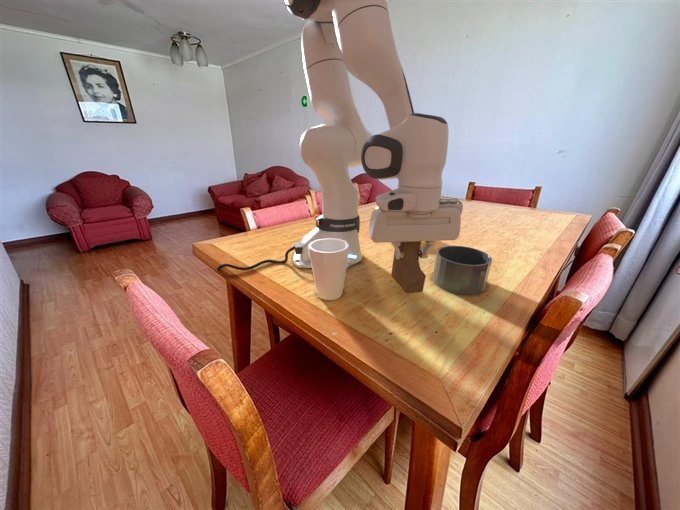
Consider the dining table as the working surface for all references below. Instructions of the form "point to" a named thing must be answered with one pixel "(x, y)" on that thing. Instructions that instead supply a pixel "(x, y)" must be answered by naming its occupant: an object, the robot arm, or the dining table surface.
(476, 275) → the grey short cylinder
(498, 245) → the dining table surface
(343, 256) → the foam cup
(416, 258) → the wooden block
